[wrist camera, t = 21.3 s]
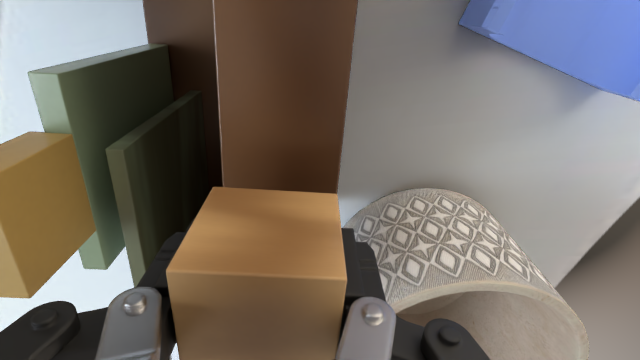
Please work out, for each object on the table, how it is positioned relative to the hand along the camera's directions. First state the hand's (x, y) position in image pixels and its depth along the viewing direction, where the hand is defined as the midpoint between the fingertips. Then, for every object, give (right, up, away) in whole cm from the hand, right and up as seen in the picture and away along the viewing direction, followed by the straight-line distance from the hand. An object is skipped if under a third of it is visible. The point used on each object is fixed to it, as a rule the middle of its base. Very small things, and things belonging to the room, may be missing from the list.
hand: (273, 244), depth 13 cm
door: (-10, +7, +13) cm, 18 cm away
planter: (+11, -5, +21) cm, 24 cm away
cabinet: (-4, +9, +14) cm, 17 cm away
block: (0, 0, 0) cm, 0 cm away
